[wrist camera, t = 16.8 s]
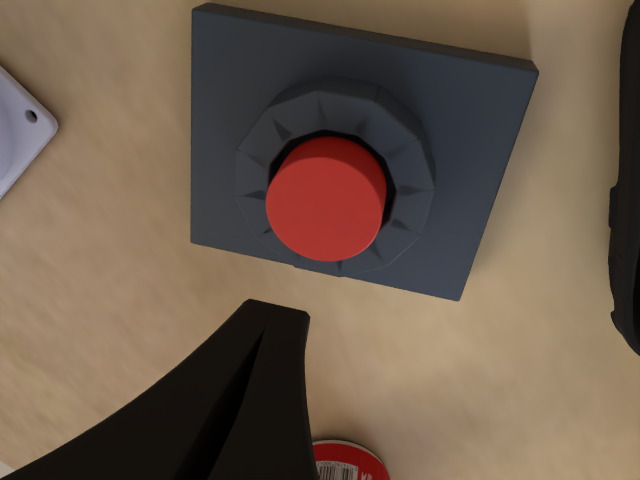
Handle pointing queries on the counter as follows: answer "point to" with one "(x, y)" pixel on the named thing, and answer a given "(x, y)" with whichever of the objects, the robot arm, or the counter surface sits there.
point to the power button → (327, 199)
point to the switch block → (352, 137)
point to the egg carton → (627, 191)
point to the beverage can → (347, 462)
